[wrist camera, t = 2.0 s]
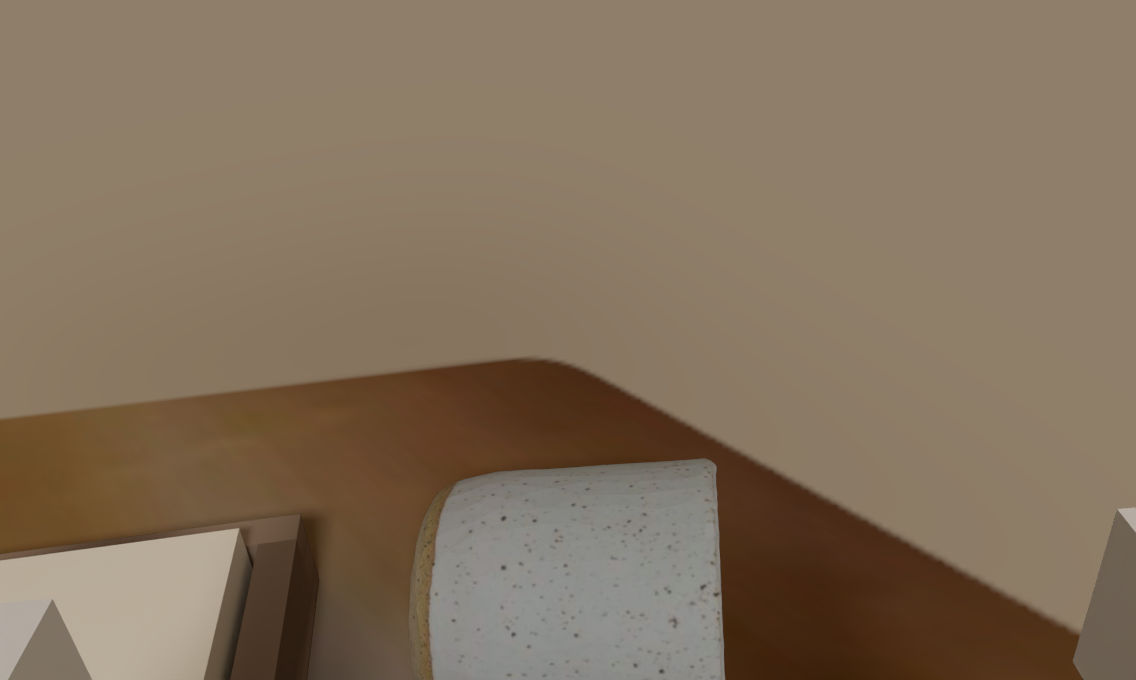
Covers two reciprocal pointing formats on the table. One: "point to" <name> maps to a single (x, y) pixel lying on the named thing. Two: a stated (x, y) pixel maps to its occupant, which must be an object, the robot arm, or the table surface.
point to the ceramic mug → (571, 576)
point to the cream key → (145, 603)
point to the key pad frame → (258, 594)
